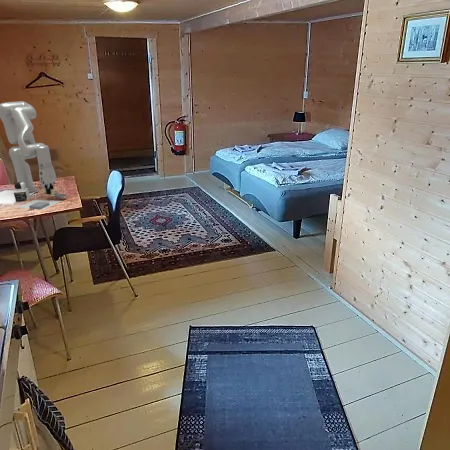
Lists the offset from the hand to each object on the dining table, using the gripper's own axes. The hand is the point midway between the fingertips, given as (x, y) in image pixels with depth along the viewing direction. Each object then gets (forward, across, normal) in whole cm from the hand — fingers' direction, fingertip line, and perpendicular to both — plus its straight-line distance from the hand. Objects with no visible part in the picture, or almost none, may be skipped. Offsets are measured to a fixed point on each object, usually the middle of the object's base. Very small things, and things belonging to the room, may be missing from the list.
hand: (50, 193), depth 261 cm
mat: (+4, -12, 0) cm, 12 cm away
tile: (+3, -16, 0) cm, 16 cm away
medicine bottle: (+5, -6, +18) cm, 19 cm away
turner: (+1, 0, -2) cm, 3 cm away
